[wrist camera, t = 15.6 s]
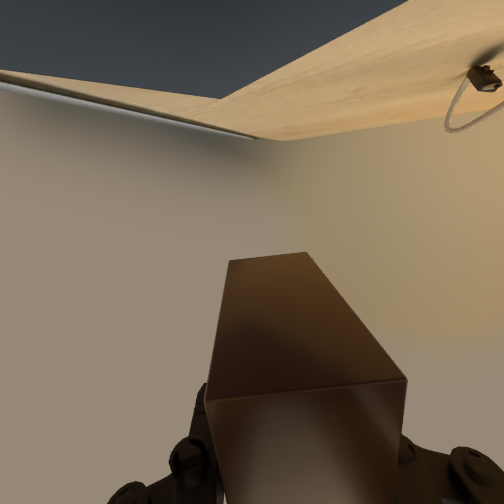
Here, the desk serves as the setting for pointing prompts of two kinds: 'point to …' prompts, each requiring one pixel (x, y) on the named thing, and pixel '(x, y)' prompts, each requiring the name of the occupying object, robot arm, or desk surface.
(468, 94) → the desk surface
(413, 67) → the desk surface
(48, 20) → the mat
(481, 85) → the clip-on lamp
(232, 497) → the letter tile
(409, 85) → the desk surface
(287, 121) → the desk surface
